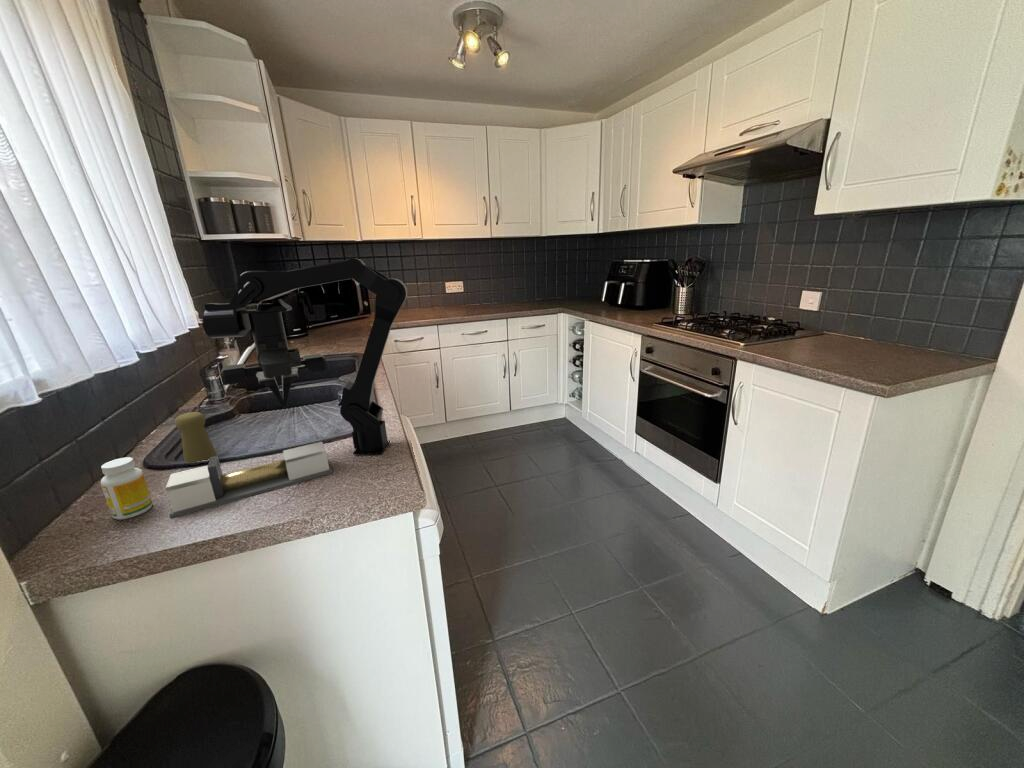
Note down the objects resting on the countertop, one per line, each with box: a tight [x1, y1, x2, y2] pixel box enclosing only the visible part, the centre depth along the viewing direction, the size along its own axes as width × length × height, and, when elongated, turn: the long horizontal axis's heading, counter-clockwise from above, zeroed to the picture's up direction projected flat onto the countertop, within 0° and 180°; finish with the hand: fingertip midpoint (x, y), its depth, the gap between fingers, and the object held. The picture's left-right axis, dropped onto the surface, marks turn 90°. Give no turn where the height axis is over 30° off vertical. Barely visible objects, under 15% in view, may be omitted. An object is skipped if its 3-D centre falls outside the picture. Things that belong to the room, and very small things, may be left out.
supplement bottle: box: [100, 456, 153, 520], centre depth 70 cm, size 5×5×10 cm
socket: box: [165, 464, 216, 512], centre depth 72 cm, size 6×6×5 cm
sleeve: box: [282, 441, 329, 480], centre depth 82 cm, size 7×5×4 cm
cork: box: [174, 411, 219, 463], centre depth 89 cm, size 6×6×11 cm
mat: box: [168, 461, 333, 519], centre depth 78 cm, size 26×7×1 cm, turn 122°
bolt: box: [207, 456, 288, 498], centre depth 76 cm, size 17×5×6 cm, turn 122°
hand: (284, 407), depth 86 cm, fingers closed
